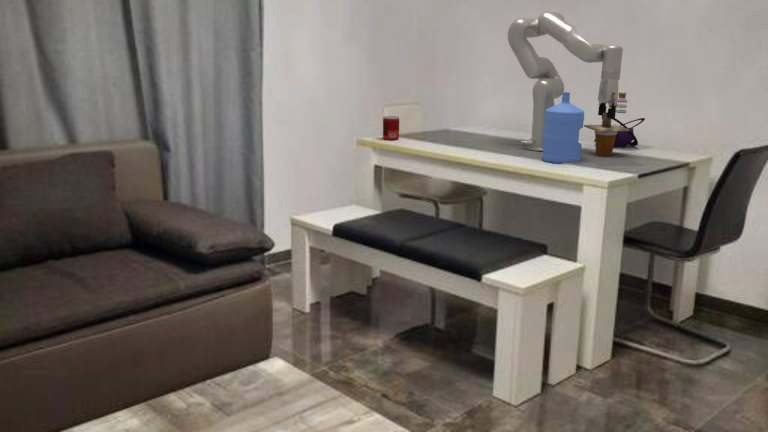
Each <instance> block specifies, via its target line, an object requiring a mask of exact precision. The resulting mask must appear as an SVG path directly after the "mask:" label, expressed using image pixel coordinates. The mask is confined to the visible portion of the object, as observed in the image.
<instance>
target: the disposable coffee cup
mask: <svg viewBox="0 0 768 432" xmlns="http://www.w3.org/2000/svg"><path fill="white" fill-rule="evenodd" d="M593 132H594V134H595V135H594V136H595V137H594V140H595V141H596V142H595V155H597V156H600V157H601V156H603V157H604V156H605V157H609V156H611V157H612V155H613V151H614V148H615V147H614V142H615V138H616V135H617V133H618V132H617V131H595V130H593Z"/></svg>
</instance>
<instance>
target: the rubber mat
mask: <svg viewBox="0 0 768 432" xmlns="http://www.w3.org/2000/svg"><path fill="white" fill-rule="evenodd" d="M586 160H588V161H589V162H591V163H594V164H596V165H598V166H600V167H610V166H611V167H619V166H620V167H623V166H625V167H628V166H629V167H636V166H637V167H638V166H640V167H641V166H645V165H644V164H642V163H641V162H640V163H639V162H637V161H634V160H632V159H630V158H622V157H621V158H586Z"/></svg>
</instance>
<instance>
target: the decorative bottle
mask: <svg viewBox="0 0 768 432" xmlns="http://www.w3.org/2000/svg"><path fill="white" fill-rule="evenodd" d="M626 96H627V92H622V91H621V92H618V102H617V103H625V104H617V106H616V107H617V109H616V113H618V114H626V113H627V110H626V109H627V107H628V105H627V104H626V103H628V99H626ZM618 108H619V109H618ZM623 108H624V109H623ZM616 113H615V114H616ZM602 119H603V115H601V120H602ZM645 120H646V118H645V117H642V118H641V117H640V118H637V119H633V120H631V121H630V120H629V121H628V122H626V123H623V122H622V121H620V120H618V119H617V118H616V117H615V118H611V121H615V122H617V123H618V124H619V126H621V127H624V128H627V129H629V131H617V132H618V133H617V135H616V138H615V142H614V147H613V148H618V147H621V148H626V147H627V146H628V145H630V146H633V147H636V146H638V144H639V142H638V139H637V137H636V135H635V133H634V128H635V127H637V126H639V125H640V124H641V123H643V122H644V121H645ZM638 121H639V122H638ZM633 122H638V123H636V124H635V125H633V126H631V127H627V125H628V124H630V123H633ZM593 142H594V143H596V141H595V139H594V140H593Z"/></svg>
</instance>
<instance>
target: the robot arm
mask: <svg viewBox="0 0 768 432" xmlns="http://www.w3.org/2000/svg"><path fill="white" fill-rule="evenodd" d="M545 35H546V36H547V35H548V36H550V37H551V38H553V39H554V40H555V41H557V42H559V43H560V44H561V45H562V46H563V47H564V48H565V49H566V50H567V51H568V52H570V53H571V54H572V55H573V56H575V57H576V58H577V59H579V60H580V61H582V62H584V63H589V64H591V63H601V73H600V74H601V75H600V82H599V87H598V95H597V101H598V102H599V103H598V113H597V115H598V116H602V115H603V112H608V114H607V118H616V110H617V109H618V107H616V106H617V105H618V103H619V102H618V99H619V80H620V79H621V69H622V60H623V51H624V49H623V47H622V46H621V45H617V44H616V45H614V44H610V45H609V44H608V45H606V44H599V43H590V42H588V41H587V40H585V39H584V38H583V37H581V36H580V35H579V34H578V33H577V29H576V26H574V25H572V24H571V23H569V22H567V21H566V20H565V17H564V15H563V14H561V13H560V12H558V11H545V12H543V13H541V14H540V15H539V16H538V17H534V18H533V17H531V18H530V17H529V18H528V17H519V18H517V19H515V20H513V22H511V24H510V26H509V27H508V31H507V41H508V45H509V47H510V48H511V51H512V52H513V54H514V55H515V57H516V59H517V61H518V63H519V64H520V66H521V68H522V71H523V73H524V74H525V76H526V77H527V78H528V79H530V80H537V81H536V82H535V83H534V84H533V88H532V103H533V106H532V108H533V109H532V125H531V137H530V138H529V139H527V140H520V145H521V146H527V150H530V151H535V152H543V141H544V140H543V136H544V127H545V112H546V109H548V108H551V107H553V106H555V105H556V104H555V99H558V98H561V97H562V92H565V85H564V84H565V83H564V81H563V79H562V77H561V76H560V74H559V72H558V70H557V69H556V67H555V65H554V63H553V62H552V61H551V60H550V59H549V58H547V57H543V56H539V55H538V53H537V51H536V50H535V47H534V46H533V45H532V43H531V42H530V41H529V40H528V39H532V38H537V37H542V36H545ZM607 105H608V106H607ZM607 107H608V108H607Z"/></svg>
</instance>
